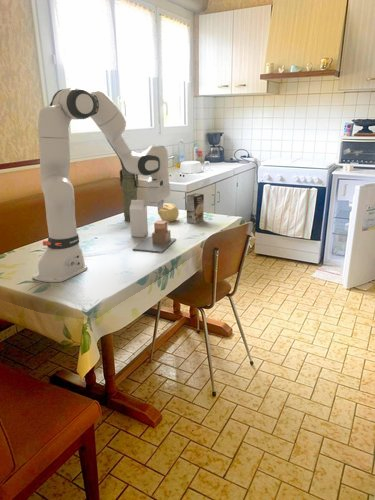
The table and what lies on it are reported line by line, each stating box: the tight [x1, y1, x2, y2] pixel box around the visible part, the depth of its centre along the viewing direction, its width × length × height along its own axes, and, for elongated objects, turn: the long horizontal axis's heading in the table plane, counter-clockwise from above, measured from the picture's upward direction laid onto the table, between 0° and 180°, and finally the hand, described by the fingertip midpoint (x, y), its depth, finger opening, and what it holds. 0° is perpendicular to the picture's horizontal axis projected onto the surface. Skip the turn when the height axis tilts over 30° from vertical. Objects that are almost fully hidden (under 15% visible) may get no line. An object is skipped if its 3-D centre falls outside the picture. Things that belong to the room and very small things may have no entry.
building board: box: [131, 229, 177, 254], centre depth 185 cm, size 20×15×6 cm
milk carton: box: [129, 199, 149, 238], centre depth 198 cm, size 7×7×19 cm
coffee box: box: [186, 193, 205, 225], centre depth 223 cm, size 9×6×16 cm
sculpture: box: [157, 202, 180, 223], centre depth 227 cm, size 11×12×11 cm
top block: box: [153, 220, 169, 234], centre depth 186 cm, size 5×5×5 cm
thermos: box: [119, 167, 139, 222], centre depth 226 cm, size 9×12×35 cm
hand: (160, 208), depth 183 cm, fingers closed
